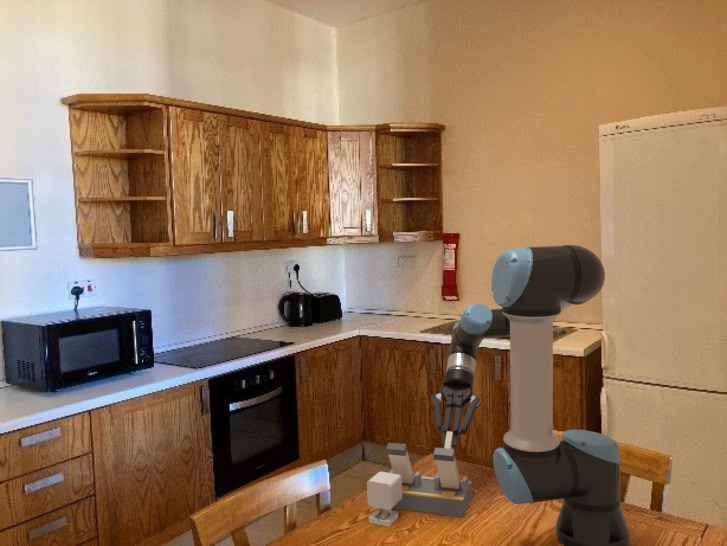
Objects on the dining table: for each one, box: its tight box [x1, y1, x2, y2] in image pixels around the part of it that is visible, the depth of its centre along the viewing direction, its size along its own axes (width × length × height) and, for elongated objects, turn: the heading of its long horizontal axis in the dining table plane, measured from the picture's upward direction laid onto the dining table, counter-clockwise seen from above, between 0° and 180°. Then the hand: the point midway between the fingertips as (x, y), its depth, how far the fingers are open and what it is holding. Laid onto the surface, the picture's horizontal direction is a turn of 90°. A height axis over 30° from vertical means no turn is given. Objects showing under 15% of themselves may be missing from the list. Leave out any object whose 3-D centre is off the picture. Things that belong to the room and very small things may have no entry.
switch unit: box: [388, 468, 473, 518], centre depth 158 cm, size 20×11×7 cm, turn 69°
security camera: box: [366, 471, 402, 528], centre depth 150 cm, size 6×7×10 cm
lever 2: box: [433, 447, 462, 490], centre depth 152 cm, size 5×2×13 cm
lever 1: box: [385, 442, 414, 485], centre depth 157 cm, size 5×2×13 cm, turn 69°
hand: (447, 458), depth 152 cm, fingers closed
